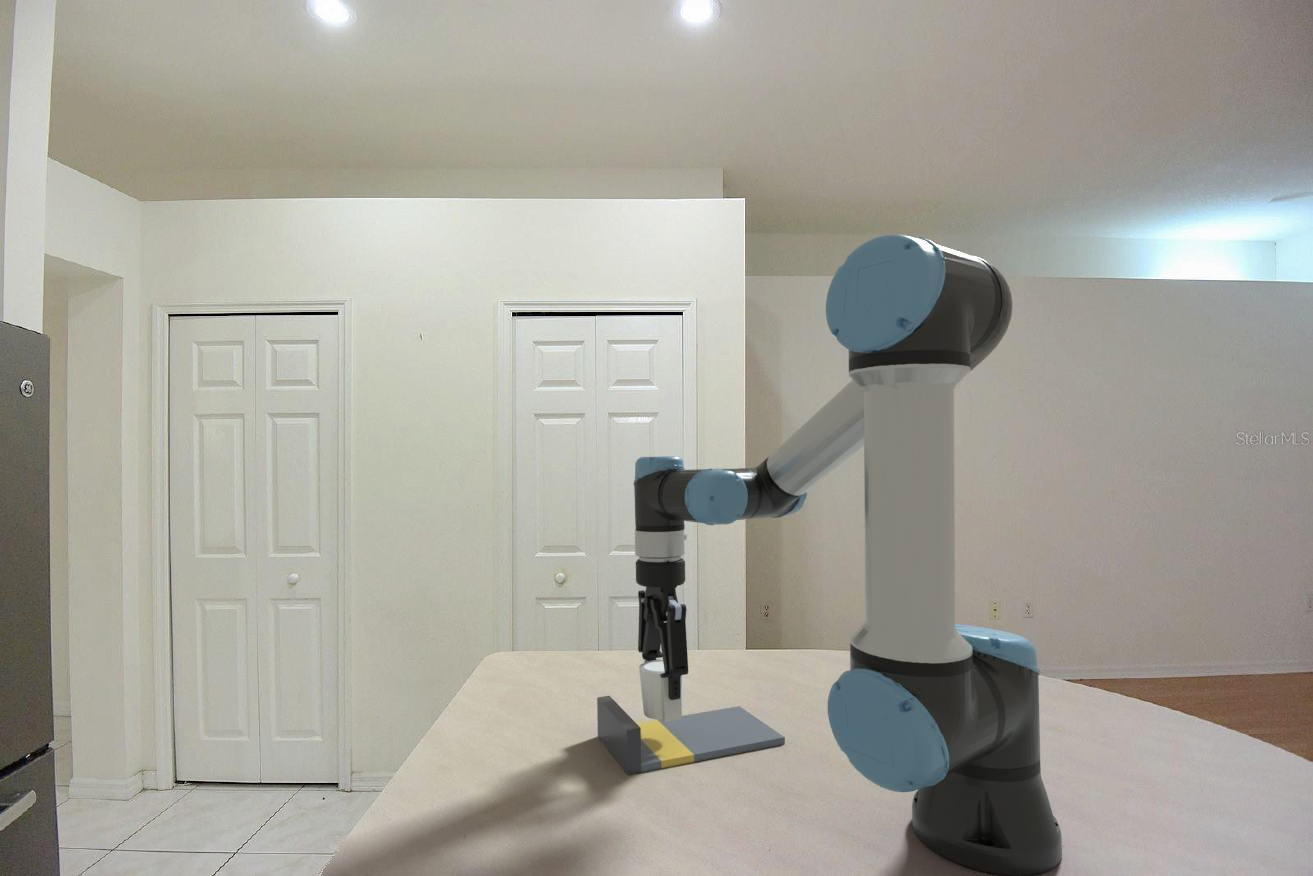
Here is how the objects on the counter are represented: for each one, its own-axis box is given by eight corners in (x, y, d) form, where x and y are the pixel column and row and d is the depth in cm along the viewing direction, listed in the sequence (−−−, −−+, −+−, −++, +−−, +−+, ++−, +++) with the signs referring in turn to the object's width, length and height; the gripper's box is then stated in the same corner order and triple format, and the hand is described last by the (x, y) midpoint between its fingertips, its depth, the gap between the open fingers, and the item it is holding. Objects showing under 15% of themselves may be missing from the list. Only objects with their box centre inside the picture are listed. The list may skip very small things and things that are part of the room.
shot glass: (685, 721, 98) (684, 672, 98) (638, 721, 98) (637, 673, 99) (684, 704, 105) (684, 659, 105) (640, 704, 105) (640, 659, 105)
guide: (784, 744, 101) (784, 703, 101) (627, 775, 92) (626, 730, 92) (739, 712, 114) (738, 676, 114) (597, 736, 105) (597, 697, 105)
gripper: (711, 565, 95) (714, 731, 94) (659, 548, 113) (661, 687, 112) (661, 569, 92) (664, 740, 91) (616, 551, 110) (618, 694, 110)
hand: (662, 711), depth 102 cm, fingers closed on shot glass, 7 cm apart
